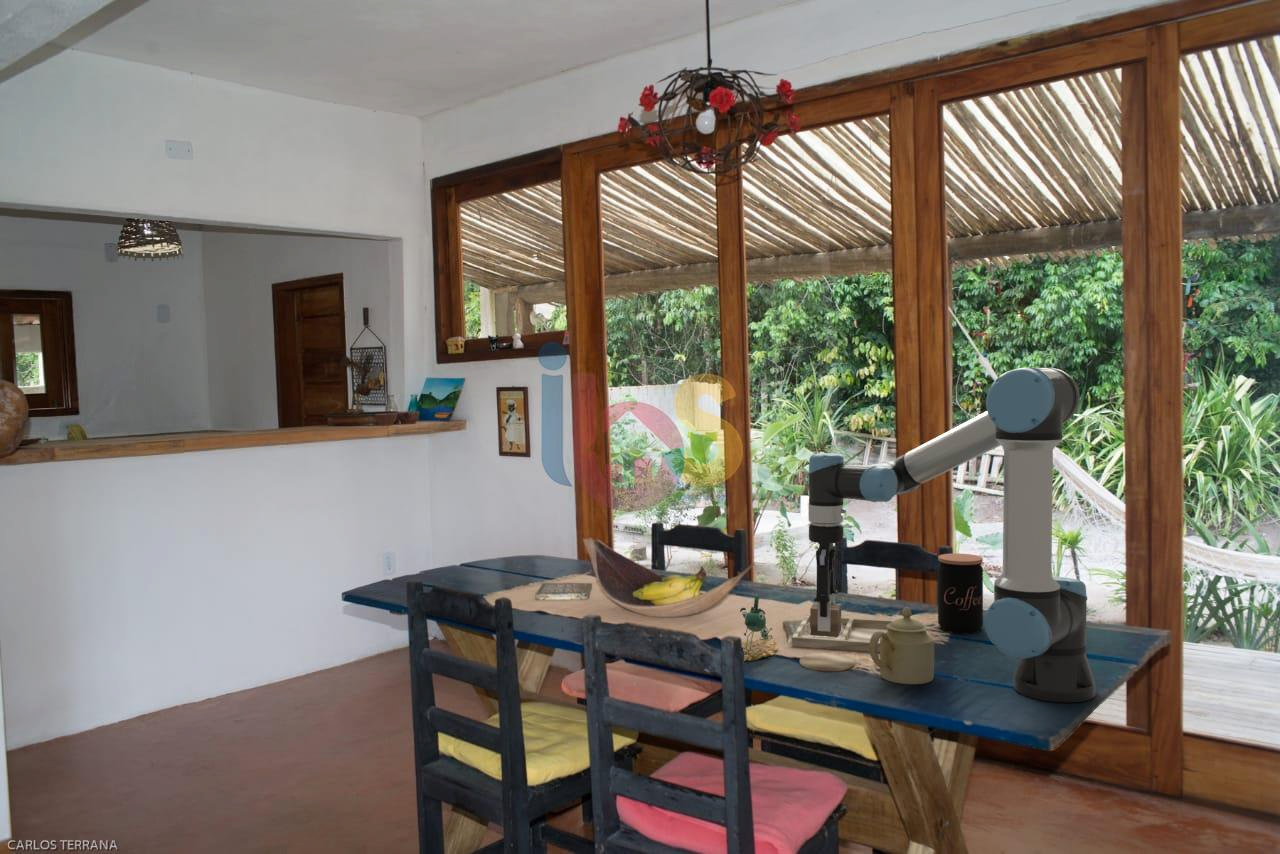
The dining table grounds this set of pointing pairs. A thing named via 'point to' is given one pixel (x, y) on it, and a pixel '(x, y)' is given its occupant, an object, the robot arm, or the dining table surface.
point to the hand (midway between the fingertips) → (826, 626)
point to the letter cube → (834, 621)
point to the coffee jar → (960, 593)
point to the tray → (844, 635)
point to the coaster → (827, 662)
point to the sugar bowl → (904, 651)
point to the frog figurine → (756, 623)
